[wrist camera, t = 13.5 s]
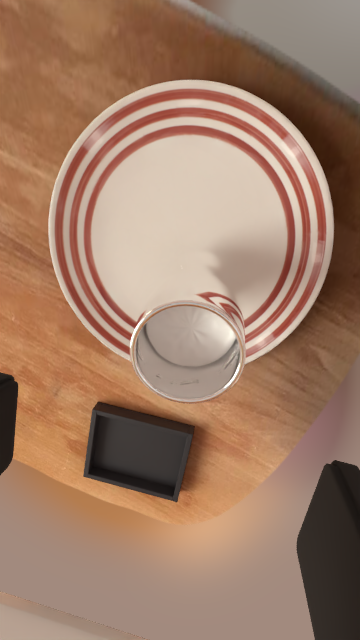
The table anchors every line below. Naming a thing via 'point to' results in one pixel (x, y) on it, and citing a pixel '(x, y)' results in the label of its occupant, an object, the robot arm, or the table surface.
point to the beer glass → (190, 332)
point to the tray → (137, 451)
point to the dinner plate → (191, 209)
